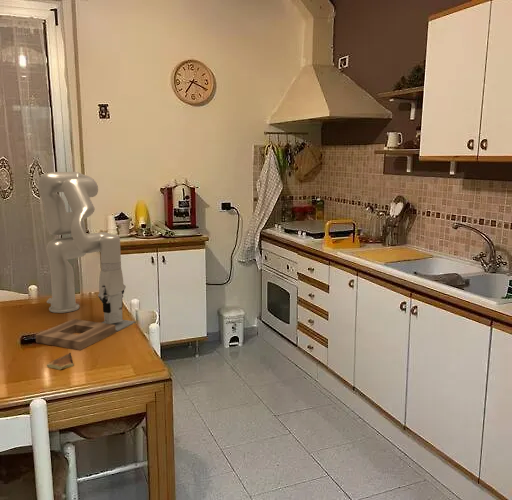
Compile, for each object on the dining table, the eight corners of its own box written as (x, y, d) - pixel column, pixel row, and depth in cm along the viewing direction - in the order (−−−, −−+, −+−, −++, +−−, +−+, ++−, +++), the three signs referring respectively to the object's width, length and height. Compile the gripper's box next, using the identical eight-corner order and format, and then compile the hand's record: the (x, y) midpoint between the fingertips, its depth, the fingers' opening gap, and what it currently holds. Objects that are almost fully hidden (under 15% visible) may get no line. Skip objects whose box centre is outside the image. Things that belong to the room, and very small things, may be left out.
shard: (70, 356, 177) (70, 351, 177) (88, 360, 174) (87, 355, 174) (45, 368, 167) (45, 363, 167) (64, 372, 164) (63, 367, 164)
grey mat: (92, 327, 205) (92, 326, 205) (111, 319, 216) (111, 318, 216) (117, 331, 201) (117, 330, 201) (135, 322, 212) (135, 321, 212)
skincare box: (109, 324, 205) (108, 294, 203) (103, 321, 208) (102, 292, 206) (123, 321, 209) (122, 292, 207) (117, 318, 212) (116, 289, 210)
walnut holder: (36, 342, 189) (35, 334, 189) (74, 326, 207) (73, 318, 207) (80, 350, 182) (79, 341, 181) (115, 332, 200) (115, 325, 200)
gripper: (116, 261, 214) (118, 303, 217) (88, 269, 198) (91, 314, 201) (132, 263, 211) (133, 305, 214) (105, 271, 195) (107, 317, 198)
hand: (113, 309), depth 208 cm, fingers closed on skincare box, 7 cm apart
